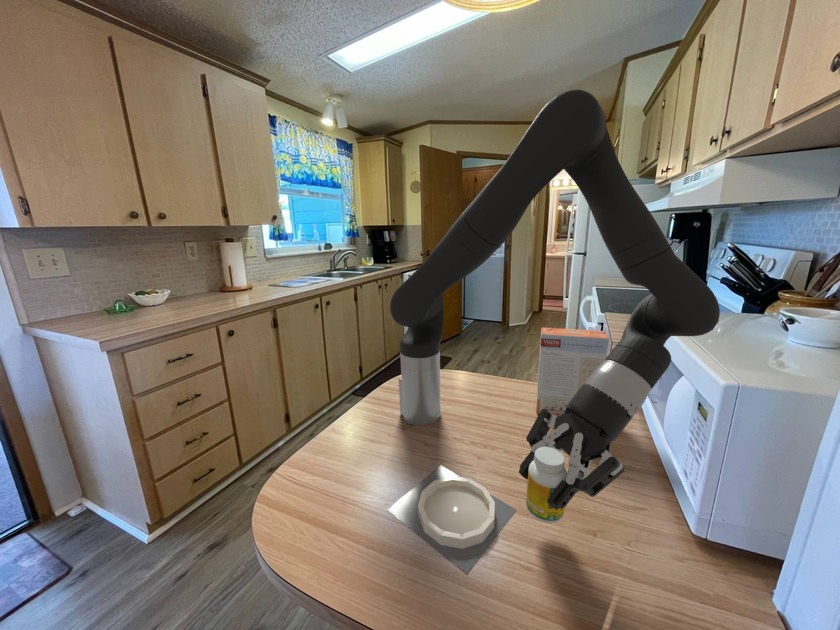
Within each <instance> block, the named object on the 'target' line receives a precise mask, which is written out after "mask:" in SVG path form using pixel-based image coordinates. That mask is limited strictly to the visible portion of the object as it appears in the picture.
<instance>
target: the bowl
mask: <svg viewBox="0 0 840 630" xmlns="http://www.w3.org/2000/svg"><path fill="white" fill-rule="evenodd" d="M461 477H462V476H460V477H454V476H450V477H446V478H442V479H438V480H434V481H433V482H432V483H431V484H430V485H429V486H427V487H426V488H425V489H424V490H423V491H422V493H421V497H420V500H419V504H418V516H419V519H420V522H421V525H422V527H423V530H424V532H425V533H426V534H427V535H429V536H430V537H431V538H432V539H434V540H435V541H436V542H438V543H439V544H440V545H444V546H449V547H455V548H460V549H464V548H467V547H470V546H473V545H476V544H479V543H482V542H483V541H484V540H485V539H486V537H487V536H488V535H489V534H490V532H491V531H492V530H493V529H494V512H495V502H494V500H493V499H492V497H491V496H490V494H491V493H489V491H488V490H487V488H486V487H485V486H483V485H481V484H480V483H477V482H476V481H474V480H472V479H471V478H469V477H467V478H466V477H462V478H461Z"/></svg>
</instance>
